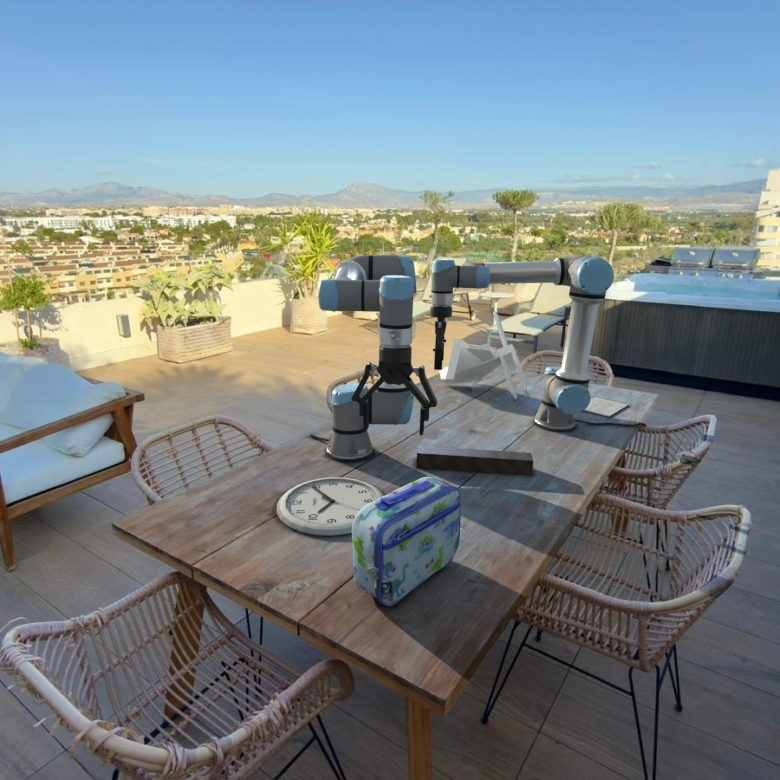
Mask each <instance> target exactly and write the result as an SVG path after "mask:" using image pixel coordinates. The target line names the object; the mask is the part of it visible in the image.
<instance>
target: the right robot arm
mask: <svg viewBox="0 0 780 780" xmlns="http://www.w3.org/2000/svg"><path fill="white" fill-rule="evenodd" d="M614 272H615V271H614V269H613V266H612V265H611V263H610V262H609V261H607V260H606V259H604V258H603V257H600V256H593V255H592V256H591V255H587V254H586V255H585V254H582V255H575V256H568V257H557V258H555V259H554V260H545V261H538V260H537V261H502V262H501V261H500V262H465V263H462V265H457V264H456V263H455V260H454V259H452V258H436V259H433V261H432V265H431V286H430V294H429V296H428V297H429V299H430V304H431V305H430V311H429V312H430V313H429V316H430V317H432V318H436V319H437V320H435V322H434V334H435V340H434V341H435V343H434V348H432V352H434V360H433V361H434V362H433V371H439V370H442V369H443V361H444V358H445V356H444V355H445V343H447V339H446V337H445V334H446V329H447V324H448V323H447V321H446V319H449V318H451V317H452V316H453V306H452V305H453V304H454V289H477V290H479V289H487V288H488V287H489V286H490V285H499V284H500V285H501V284H503V285H504V284H505V285H506V284H553V285H555V286H564V287H569V292H568V297H569V298H570V299H571V308H570V313H569V318H568V325H567V331H566V337H565V342H564V349H563V355H562V359H561V360H562V361H561V365H560V366H547V367H546V368H545V369H544V373H543V381H542V382H543V384H542V394H541V402H540V405H539V407H538V410H537V411H535V416H534V424H535V425H536V426H537V427H539V428H542V429H544V430H549V431H556V432H567V431H572V430H574V429H575V428H576V423H580V424H586V425H590V426H618V427H619V426H620V427H631V428H633V427H638V426H643V427H644V428H648V425H647V424H646V423H644V422H638V423H634V424H631V423H629V424H628V423H621V422H590V421H587V420H581V419H576V418H575V417H576V416H575V415H577V414H580V413H582V412H583V411H584V410H585V409H586V408H587V407H588V405H589V403H590V399H592V398H591V393H590V390H589V385H590V379H591V377H590V375H589V374H588V372H587V370H588V367H589V361H590V355H591V350H592V349H591V348H592V344H593V339H594V333H595V327H596V321H597V318H598V312H599V306H600V304H601V303H602V302H604V301H605V300H606V295H607V291H608V290H609V289H610V288H611V287H612V285H613V282H614V280H615V279H614V278H615V273H614Z"/></svg>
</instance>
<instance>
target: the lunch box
mask: <svg viewBox="0 0 780 780" xmlns="http://www.w3.org/2000/svg"><path fill="white" fill-rule="evenodd" d="M461 499H462V497H461V491H460V489H459V488H458V487H457V486H455V485H450V486H449V485H447V484H445V483H444V482H442V481H440V480H438V479H436V478H434V477H432V476H424V477H421V478H419V479H416V480H414V481H412V482H410V483H407V484H405V485H404V486H401V487H399V488H397V489H395V490H392V491H391V492H390V493H386V494H384V496H383V497H381V498H379V499H377V500H375V501H373V502H371V503H369V504H367V505H365V506H364V507H362V508H361V509H360V510H359V512H358V513H357V515H356V516H355V518H354V521H353V526H352V533H351V550H352V576H353V581H354V584H355V587H356V588H358V589H360V590H362V591H364V592H366V593H368V594H370V596H372V597H374V598H375V599H377V601H378V603H379V604H382V605H383V606H385V607H393V606H394V605H396V604H397V603H399V602H400V601H402V599H404V598H405V597H406V596H407V595H409V594H410V593H411V592H413V591H414V590H415V589H416V588H418V587H419V586H420V585H422V584H423V583H424V582H425V581H427V580H428V579H429V578H430V577H432V575H434V574H435V573H437V572H439V571H441V570H442V569H443V568H445V567H446V566H448V565H449V564H450V562H452V560H453V559H454V557H455V555H456V553H457V551H458V549H459V544H460V537H461V519H462V515H461V513H462V512H461V510H462V507H461V505H462V504H461V503H462V502H461Z"/></svg>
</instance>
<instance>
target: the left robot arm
mask: <svg viewBox="0 0 780 780" xmlns="http://www.w3.org/2000/svg"><path fill="white" fill-rule="evenodd" d="M417 291H418V289H417V277H416V268H415V263H414V259H413V258H412V257H411V256H408V255H400V254H396V255H395V254H391V255H390V254H380V255H379V254H362V255H356V256H353V257H350V258H348V259H345V260H343V261H342V262H340V263H339V264H338V266H336V268H335V270H334V273H333V278H328V279H321V280H320V281H319V283H318V289H317V293H318V294H317V295H318V296H317V298H318V299H317V300H318V306H319V308H320V310H321V311H323V312H324V311H327V312H332V313H333V312H334V313H335V312H367V313H368V312H369V313H370V312H372V313H374V312H375V313H379V326H378V327H379V328H378V364H374V363H372V362H370V361H368V362H367V363H366V364H365V366H364V373H363V375H362V377H361V379H360V381H359V382H351V383H346V384H342V385H339V386H337V387H335V388H334V389H333V390H332V392H331V401H330V405H331V434H330V437H329V438H325V437H320V436H317V435H314V434H312V433H310V434H309V437H311V438H313V439H316V440H319V441H325V442H328V443H327V446H326V454H327V455H328V456H329V457H330V458H331V459H332V460H333V459H334V460H336V461H340V462H358V461H362V460H365V459H367V458H370V456H372V454H373V444H372V441H371V438H370V434H369V433H368V429H369V427H370V425H386V426H387V425H388V426H389V425H393V426H397V425H398V426H399V425H407V424H408V423H409V422H410V421H411V418H412V412H413V407H414V398H415V400H417V402H418V403H419V404H420V405H421V406H420V409H419V414H420V415H419V436H424V432H425V422H428V421H429V419H430V409H431V408H436V407H437V405H438V399H437V397H436V394H435V392H434V391H433V388H432V386H431V384H430V381H429V380H428V377H427V375H426V367H425V366H424V365H423V364H422V365H420V366H413V365H412V355H413V353H412V350H413V348H412V346H411V344H412V343H413V314H414V313H413V312H414V311H413V310H414V295H416V294H417ZM375 371H376V372H377V374H378V379H377V380H376V381H375V382H374V383H373V384H372V385H371V386H370V388H369V387H368V385H367V382H368V380H369V378H370V376H371V375H372V374H374V372H375ZM413 373H414V374H415V375H416V377H418V379H419V381H420V384H421V386H422V388H423V390H424V392H425V394H426V396H425V395H424V394H423V392H422V391H421V390H420V388H419V387H418V385H416V383H414V380H413V379H412V377H411V376H412V374H413Z"/></svg>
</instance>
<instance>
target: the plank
mask: <svg viewBox="0 0 780 780" xmlns="http://www.w3.org/2000/svg"><path fill="white" fill-rule="evenodd" d="M415 464H416V465H415V467H416V469H417V468H418V469H432V470H433V469H434V470H446V471H447V470H448V471H463V472H476V473H477V472H478V473H490V474H491V473H492V474H507V475H522V476H533V471H534V470H533V469H534V458H533V455H532V453H531V452H526V451H525V452H523V451H510V450H509V451H507V450H492V449H476V448H459V447H446V446H445V447H444V446H443V447H442V446H430V445H429V446H428V445H417V449H416V463H415Z"/></svg>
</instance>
